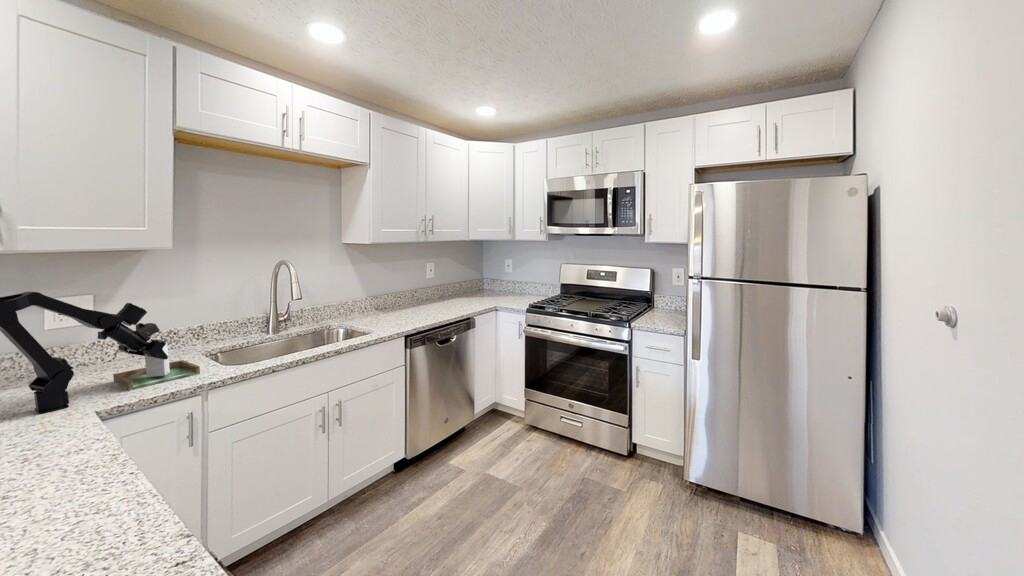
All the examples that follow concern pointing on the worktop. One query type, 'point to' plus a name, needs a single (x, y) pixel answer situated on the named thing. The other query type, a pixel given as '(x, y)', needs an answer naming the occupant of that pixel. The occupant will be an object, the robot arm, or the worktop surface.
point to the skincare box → (157, 365)
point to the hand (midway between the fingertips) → (160, 357)
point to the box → (140, 379)
